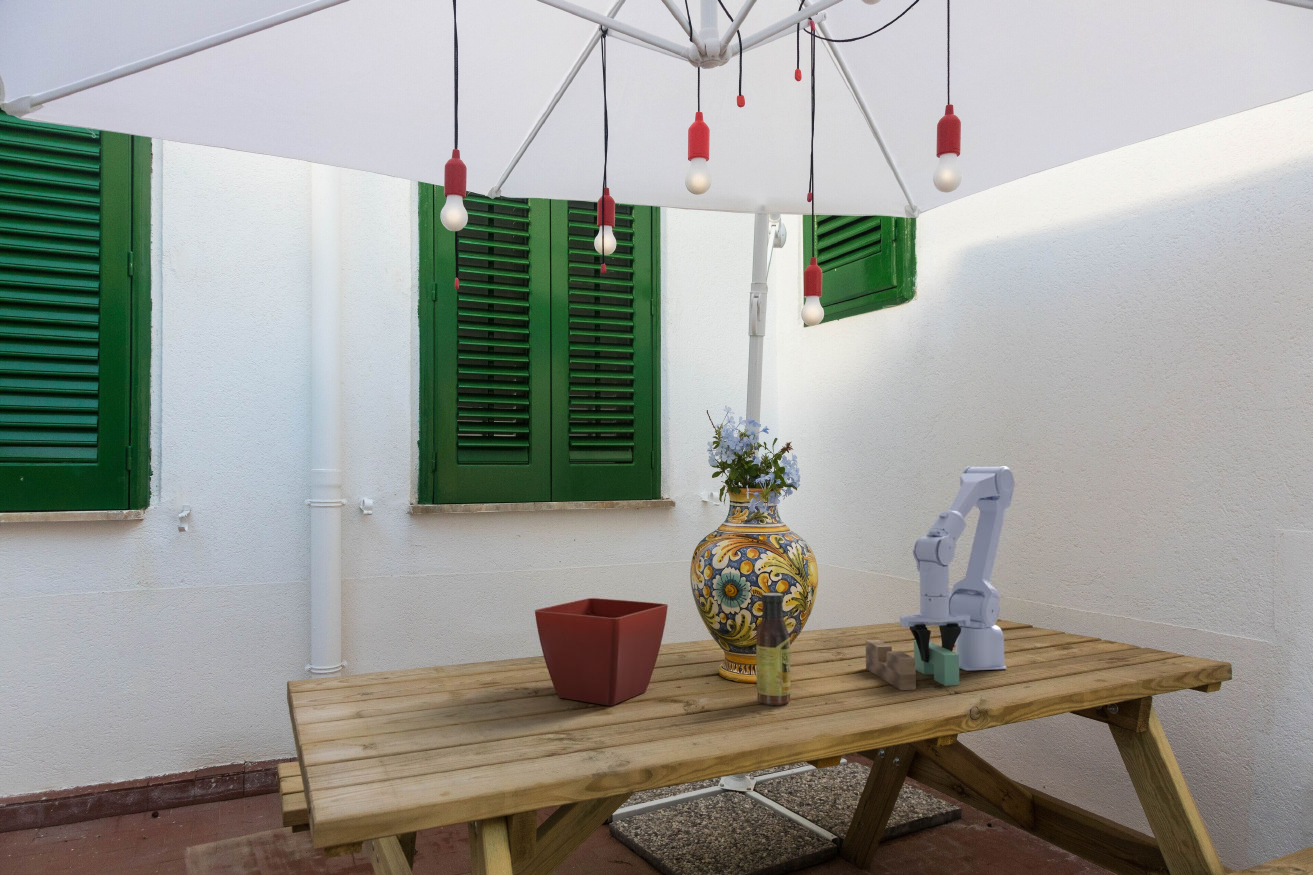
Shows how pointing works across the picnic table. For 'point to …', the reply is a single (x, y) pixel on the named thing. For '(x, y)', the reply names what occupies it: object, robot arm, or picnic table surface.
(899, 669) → the walnut notched bar
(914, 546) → the robot arm
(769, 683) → the sauce bottle
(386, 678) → the picnic table surface
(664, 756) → the picnic table surface
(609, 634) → the plant pot
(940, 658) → the green notched bar
